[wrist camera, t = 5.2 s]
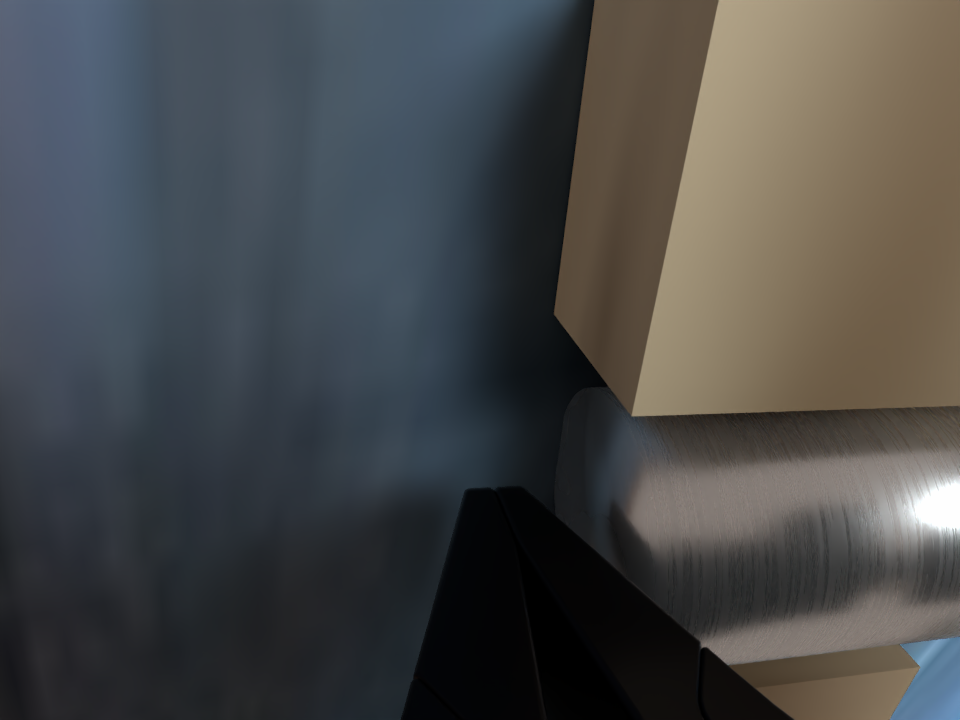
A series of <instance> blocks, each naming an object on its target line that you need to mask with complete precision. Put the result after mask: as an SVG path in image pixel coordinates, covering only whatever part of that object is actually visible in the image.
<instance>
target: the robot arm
mask: <svg viewBox="0 0 960 720" xmlns="http://www.w3.org/2000/svg"><path fill="white" fill-rule="evenodd" d="M701 648H702V644H701V642H700V641H699V640H698V639H697V638H696V637H695V636H693V635H692V634H691V633H690V632H689V631H688V630H687V629H685V628H684V627H683V626H682V625H681V624H680V623H679V622H677V621H676V620H675V619H674V618H673V617H672V616H670V615H669V614H668V613H667V612H666V611H665V610H664V609H662V608H661V607H660V606H659V605H658V604H657V603H656V602H654V601H653V600H652V599H651V598H650V597H649V596H647V595H646V594H645V593H644V592H643V591H642V590H641V589H639V588H638V587H637V586H636V585H635V584H634V583H633V582H631V581H630V580H629V579H628V578H627V577H626V576H624V575H623V574H622V573H621V572H620V571H619V570H618V569H616V568H615V567H614V566H613V565H612V564H611V563H610V562H608V561H607V560H606V559H605V558H604V557H603V556H601V555H600V554H599V553H598V552H597V551H596V550H595V549H593V548H592V547H591V546H590V545H589V544H588V543H587V542H585V541H584V540H583V539H582V538H581V537H580V536H578V535H577V534H576V533H575V532H574V531H573V530H572V529H570V528H569V527H568V526H567V525H566V524H565V523H564V522H562V521H561V520H560V519H559V518H558V517H557V516H555V515H554V514H553V513H552V512H551V511H550V510H549V509H547V508H546V507H545V506H544V505H543V504H542V503H540V502H539V501H538V500H537V499H536V498H535V497H534V496H532V495H531V494H530V493H529V492H528V491H527V490H526V489H524V488H523V487H521V486H507V487H497V488H495V489H494V490H493V489H491V488H470V489H467V490H465V492H464V495H463V498H462V502H461V506H460V509H459V513H458V516H457V520H456V524H455V527H454V531H453V534H452V538H451V542H450V545H449V549H448V553H447V556H446V560H445V563H444V567H443V571H442V574H441V578H440V581H439V585H438V589H437V592H436V596H435V600H434V603H433V607H432V610H431V614H430V618H429V621H428V625H427V628H426V632H425V636H424V639H423V643H422V646H421V650H420V654H419V657H418V661H417V665H416V668H415V672H414V675H413V681H412V682H411V685H410V688H409V692H408V696H407V699H406V703H405V707H404V710H403V713H402V717H401V720H795V719H793V718H792V717H791V716H789V715H788V714H787V713H785V712H784V711H783V710H782V709H780V708H779V707H778V706H776V705H775V704H774V703H773V702H771V701H770V700H769V699H768V698H767V697H765V696H764V695H763V694H762V693H761V692H759V691H758V690H757V689H756V688H755V687H753V686H752V685H751V684H750V683H749V682H747V681H746V680H745V679H744V678H743V677H741V676H740V675H739V674H738V673H737V672H735V671H734V670H733V669H732V668H731V667H729V666H728V665H727V664H726V663H725V662H724V661H723V660H721V659H720V658H719V657H718V656H717V655H716V654H715V653H713V652H712V651H711V650H710V649H709V648H707V647H703V648H702V649H701Z"/></svg>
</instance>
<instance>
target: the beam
mask: <svg viewBox="0 0 960 720" xmlns="http://www.w3.org/2000/svg"><path fill="white" fill-rule="evenodd" d="M554 315H555V316H556V318H557V319H558V320H559V322H560V323H561V324H562V326H563V327H564V328H565V330H566V331H567V332H568V333H569V335H570V336H571V337H572V339H573V340H574V341H575V343H576V344H577V345H578V347H579V348H580V349H581V351H582V352H583V353H584V355H585V356H586V357H587V358H588V360H589V361H590V362H591V364H592V365H593V366H594V368H595V369H596V370H597V372H598V373H599V374H600V376H601V377H602V378H603V380H604V381H605V382H606V384H607V385H608V386H609V387H610V389H611V390H612V391H613V393H614V394H615V395H616V397H617V398H618V399H619V401H620V402H621V403H622V405H623V406H624V407H625V409H626V410H627V411H628V412H629V414H630V415H631V416H661V415H692V414H723V413H753V412H784V411H815V410H846V409H876V408H907V407H938V406H960V0H595V2H594V10H593V17H592V25H591V33H590V40H589V48H588V56H587V63H586V71H585V79H584V87H583V94H582V102H581V110H580V117H579V125H578V133H577V140H576V148H575V156H574V164H573V171H572V179H571V187H570V194H569V202H568V210H567V217H566V225H565V233H564V240H563V248H562V256H561V264H560V271H559V279H558V287H557V294H556V302H555V310H554ZM728 666H729V667H731V668H732V669H733V670H734V671H735V672H737V673H738V674H739V675H740V676H741V677H743V678H744V679H745V680H746V681H747V682H749V683H750V684H751V685H752V686H753V687H755V688H756V689H757V690H758V691H759V692H761V693H762V694H763V695H764V696H765V697H767V698H768V699H769V700H770V701H771V702H773V703H774V704H775V705H776V706H778V707H779V708H780V709H782V710H783V711H784V712H785V713H787V714H788V715H789V716H791V717H792V718H793V719H795V720H889V719H890V718H891V716H892V714H893V713H894V711H895V709H896V707H897V706H898V704H899V702H900V701H901V699H902V697H903V696H904V694H905V692H906V691H907V689H908V687H909V686H910V684H911V682H912V680H913V679H914V677H915V675H916V674H917V672H918V670H919V669H920V666H919V665H918V664H917V663H916V662H915V661H914V660H913V659H912V658H911V656H910V655H909V654H908V653H907V652H906V651H905V650H904V649H903V648H902V647H901V646H900V645H899V644H897V645H889V646H881V647H873V648H865V649H857V650H849V651H841V652H833V653H825V654H817V655H808V656H800V657H792V658H784V659H776V660H768V661H760V662H752V663H744V664H736V665H728Z"/></svg>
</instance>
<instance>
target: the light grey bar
mask: <svg viewBox="0 0 960 720" xmlns="http://www.w3.org/2000/svg"><path fill="white" fill-rule="evenodd" d="M554 502H555V516H557V517H558V518H559V519H560V520H561V521H562V522H564V523H565V524H566V525H567V526H568V527H569V528H570V529H572V530H573V531H574V532H575V533H576V534H577V535H578V536H580V537H581V538H582V539H583V540H584V541H585V542H587V543H588V544H589V545H590V546H591V547H592V548H593V549H595V550H596V551H597V552H598V553H599V554H600V555H601V556H603V557H604V558H605V559H606V560H607V561H608V562H610V563H611V564H612V565H613V566H614V567H615V568H616V569H618V570H619V571H620V572H621V573H622V574H623V575H624V576H626V577H627V578H628V579H629V580H630V581H631V582H633V583H634V584H635V585H636V586H637V587H638V588H639V589H641V590H642V591H643V592H644V593H645V594H646V595H647V596H649V597H650V598H651V599H652V600H653V601H654V602H656V603H657V604H658V605H659V606H660V607H661V608H662V609H664V610H665V611H666V612H667V613H668V614H669V615H670V616H672V617H673V618H674V619H675V620H676V621H677V622H679V623H680V624H681V625H682V626H683V627H684V628H685V629H687V630H688V631H689V632H690V633H691V634H692V635H693V636H695V637H696V638H697V639H698V640H699V641H700V642H701V644H702V648H703V647H707V648H709V649H710V650H711V651H712V652H713V653H715V654H716V655H717V656H718V657H719V658H720V659H721V660H723V661H724V662H725V663H726V664H727V665H736V664H744V663H752V662H760V661H768V660H776V659H784V658H792V657H800V656H808V655H817V654H825V653H833V652H841V651H849V650H857V649H865V648H873V647H881V646H889V645H897V644H905V643H913V642H921V641H929V640H937V639H946V638H954V637H960V406H938V407H907V408H876V409H846V410H815V411H784V412H753V413H723V414H692V415H661V416H631V415H630V414H629V412H628V411H627V410H626V409H625V407H624V406H623V405H622V403H621V402H620V401H619V399H618V398H617V397H616V395H615V394H614V393H613V391H612V390H611V389H610V387H589V388H584V389H582V390H580V391H579V392H577V393H576V394H575V395H574V397H573V398H572V399H571V401H570V402H569V404H568V406H567V408H566V411H565V413H564V419H563V426H562V433H561V440H560V448H559V455H558V462H557V469H556V476H555V483H554ZM702 648H701V649H702Z"/></svg>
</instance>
